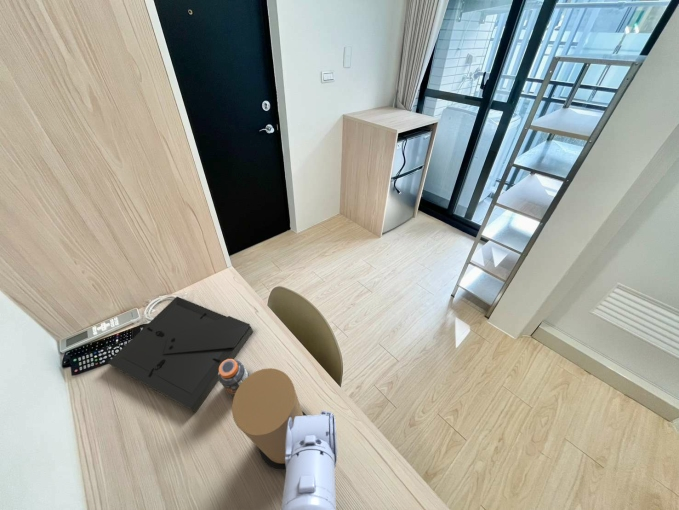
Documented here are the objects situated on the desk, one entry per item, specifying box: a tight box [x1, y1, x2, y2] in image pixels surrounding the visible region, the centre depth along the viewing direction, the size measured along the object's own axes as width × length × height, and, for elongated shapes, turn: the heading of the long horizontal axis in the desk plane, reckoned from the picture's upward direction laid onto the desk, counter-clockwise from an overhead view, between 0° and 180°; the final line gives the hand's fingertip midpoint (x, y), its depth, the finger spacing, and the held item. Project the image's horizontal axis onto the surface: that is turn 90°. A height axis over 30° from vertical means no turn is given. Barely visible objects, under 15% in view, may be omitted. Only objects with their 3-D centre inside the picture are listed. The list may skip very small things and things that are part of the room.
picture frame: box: [107, 296, 254, 413], centre depth 75 cm, size 23×4×28 cm
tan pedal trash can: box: [231, 367, 303, 464], centre depth 51 cm, size 10×16×24 cm, turn 81°
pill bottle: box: [218, 359, 250, 398], centre depth 65 cm, size 6×6×11 cm
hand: (321, 467), depth 52 cm, fingers closed
